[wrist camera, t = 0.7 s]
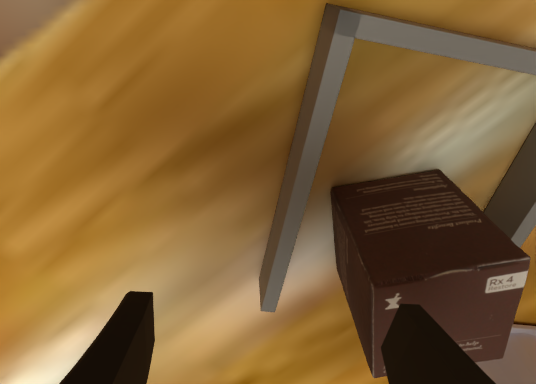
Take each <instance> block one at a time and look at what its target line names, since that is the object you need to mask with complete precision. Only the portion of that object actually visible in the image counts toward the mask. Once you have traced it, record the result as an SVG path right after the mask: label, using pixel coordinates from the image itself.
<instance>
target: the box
mask: <svg viewBox="0 0 536 384" xmlns="http://www.w3.org/2000/svg"><path fill="white" fill-rule="evenodd" d="M331 203H332V216H333V228H334V241H335V253H336V264H337V271H338V274H339V277H340V280H341V283H342V285H343V289H344V292H345V295H346V299H347V302H348V304H349V307H350V310H351V313H352V316H353V320H354V322H355V326H356V329H357V332H358V335H359V338H360V341H361V344H362V347H363V351H364V353H365V356H366V360H367V363H368V366H369V368H370V371H371V373H372V376H373V378H378V377H383V376H387V373H386V369H385V365H384V361H383V356H382V351H381V346H382V343H383V341H384V339H385V337H386V334H387V332H388V330H389V328H390V325H391V323H392V321H393V319H394V316H395V314H396V312H397V310H398V307H399V305H400V304H419V305H420V306H421V307H422V308H423V309H424V310H425V311H426V312H427V313H428V314H429V315H430V316H431V317H432V318H433V319H434V320H435V321H436V322H437V323H438V324H439V325H440V326H441V327H442V328H443V330H444V331H445V332H446V333H447V334H448V335H449V336H450V337H451V338H452V339H453V340H454V341H455V342H456V343H457V344H458V345H459V346H460V347H461V349H462V350H463V351H464V352H465V353H466V354H467V355H468V356H469V357H470V358H471V359H472V360H473V361H474V362H482V361H489V360H497V359H502V358H503V357H504V353H505V350H506V347H507V343H508V339H509V336H510V332H511V329H512V325H513V322H514V318H515V314H516V311H517V308H518V304H519V301H520V298H521V295H522V291H523V288H524V285H525V282H526V278H527V273H528V269H529V264H530V257H529V256H528V255H527V254H526V253H525V252H524V251H523V250H522V249H520V248H519V247H518V246H517V245H515V244H514V242H513V241H512V240H511V239H510V238H509V237H508V236H507V235H506V234H505V233H504V232H503V231H502V230H501V229H500V228H499V227H498V226H497V225H496V224H495V223H493V222H492V221H491V220H490V219H489V218H488V217H487V216H486V215H485V214H484V213H483V212H482V211H481V210H480V209H479V208H478V207H477V206H476V205H475V204H474V203H473V202H472V201H471V200H470V199H469V198H468V197H467V196H466V195H465V194H464V193H463V192H462V191H461V190H460V189H459V188H458V187H457V186H456V185H455V184H454V183H453V182H452V181H451V180H450V179H449V178H447V177H446V176H445V175H444V174H443V173H442V172H441V171H440V170H434V171H429V172H423V173H417V174H411V175H405V176H399V177H394V178H387V179H382V180H376V181H370V182H364V183H358V184H352V185H346V186H341V187H334V188H332V189H331Z"/></svg>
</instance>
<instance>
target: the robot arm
mask: <svg viewBox="0 0 536 384" xmlns="http://www.w3.org/2000/svg"><path fill="white" fill-rule="evenodd" d="M154 342H155V336H154V311H153V292H135V291H130V292H128V293H127V294H126V295H125V297H124V298H123V300H122V301H121V303H120V305H119V306H118V308H117V309H116V311H115V312H114V314H113V315H112V317H111V318H110V319H109V321H108V322H107V324H106V325H105V326H104V328H103V329H102V331H101V332H100V333H99V335H98V336H97V337H96V339H95V340H94V341H93V343H92V344H91V345H90V347H89V348H88V349H87V350H86V352H85V353H84V354H83V356H82V357H81V358H80V360H79V361H78V362H77V363H76V365H75V366H74V367H73V368H72V369H71V371H70V372H69V373H68V374H67V375H66V376H65V378H64V379H63V380H62V381H61V382H60V384H146V383H147V379H148V374H149V369H150V364H151V358H152V353H153V347H154ZM381 351H382V356H383V361H384V365H385V369H386V373H387V377H388V381H389V384H536V326H528V325H517V324H513V325H512V329H511V332H510V336H509V339H508V343H507V347H506V350H505V353H504V357H503V358H502V359H497V360H489V361H482V362H474V361H473V360H472V359H471V358H470V357H469V356H468V355H467V354H466V353H465V352H464V351H463V350H462V349H461V347H460V346H459V345H458V344H457V343H456V342H455V341H454V340H453V339H452V338H451V337H450V336H449V335H448V334H447V333H446V332H445V331H444V330H443V328H442V327H441V326H440V325H439V324H438V323H437V322H436V321H435V320H434V319H433V318H432V317H431V316H430V315H429V314H428V313H427V312H426V311H425V310H424V309H423V308H422V307H421V306H420V305H419V304H400V305H399V307H398V310H397V312H396V314H395V316H394V319H393V321H392V323H391V325H390V328H389V330H388V332H387V334H386V337H385V339H384V341H383V343H382V346H381Z"/></svg>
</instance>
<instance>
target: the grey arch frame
mask: <svg viewBox="0 0 536 384" xmlns="http://www.w3.org/2000/svg"><path fill="white" fill-rule="evenodd" d="M355 38H357V39H362V40H367V41H372V42H377V43H382V44H387V45H391V46H396V47H401V48H406V49H411V50H416V51H421V52H426V53H431V54H435V55H440V56H445V57H450V58H455V59H460V60H465V61H470V62H475V63H479V64H484V65H489V66H494V67H499V68H504V69H509V70H514V71H518V72H523V73H528V74H533V75H536V49H535V48H530V47H526V46H521V45H517V44H512V43H507V42H503V41H498V40H493V39H489V38H484V37H480V36H475V35H470V34H466V33H461V32H457V31H452V30H447V29H443V28H438V27H433V26H429V25H424V24H420V23H415V22H410V21H406V20H401V19H397V18H392V17H387V16H383V15H378V14H374V13H369V12H364V11H360V10H355V9H350V8H346V7H341V6H337V5H332V4H327V3H326V7H325V11H324V15H323V19H322V23H321V27H320V31H319V36H318V40H317V44H316V48H315V52H314V56H313V60H312V64H311V68H310V72H309V76H308V81H307V85H306V89H305V93H304V97H303V101H302V105H301V109H300V113H299V117H298V121H297V126H296V130H295V134H294V138H293V142H292V146H291V150H290V154H289V158H288V162H287V166H286V171H285V175H284V179H283V183H282V187H281V191H280V195H279V199H278V203H277V207H276V211H275V216H274V220H273V224H272V228H271V232H270V236H269V240H268V244H267V248H266V252H265V256H264V261H263V265H262V269H261V273H260V277H259V287H260V305H261V311H266V312H275V310H276V307H277V303H278V300H279V297H280V293H281V290H282V286H283V283H284V279H285V276H286V273H287V269H288V266H289V262H290V259H291V255H292V252H293V249H294V245H295V242H296V238H297V235H298V231H299V228H300V225H301V221H302V218H303V214H304V211H305V207H306V204H307V201H308V197H309V194H310V190H311V187H312V183H313V180H314V177H315V173H316V170H317V166H318V163H319V159H320V156H321V153H322V149H323V146H324V142H325V139H326V135H327V132H328V129H329V125H330V122H331V118H332V115H333V111H334V108H335V105H336V101H337V98H338V94H339V91H340V87H341V84H342V81H343V77H344V74H345V70H346V67H347V63H348V60H349V57H350V53H351V50H352V46H353V43H354V39H355ZM484 214H485V215H486V216H487V217H488V218H489V219H490V220H491V221H492V222H493V223H495V224H496V225H497V226H498V227H499V228H500V229H501V230H502V231H503V232H504V233H505V234H506V235H507V236H508V237H509V238H510V239H511V240H512V241H513V242H514V244H515V245H517V246H518V247H519V248H520V247H521V246H522V244H523V243H524V241H525V240H526V238H527V237H528V236H529V234H530V233H531V231H532V230H533V228H534V227H535V225H536V124H535V126H534V127H533V129H532V131H531V132H530V134H529V136H528V138H527V139H526V141H525V143H524V144H523V146H522V148H521V150H520V151H519V153H518V155H517V156H516V158H515V160H514V161H513V163H512V165H511V167H510V168H509V170H508V172H507V173H506V175H505V177H504V179H503V180H502V182H501V184H500V185H499V187H498V189H497V190H496V192H495V194H494V196H493V197H492V199H491V201H490V202H489V204H488V206H487V208H486V209H485V211H484Z"/></svg>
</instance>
